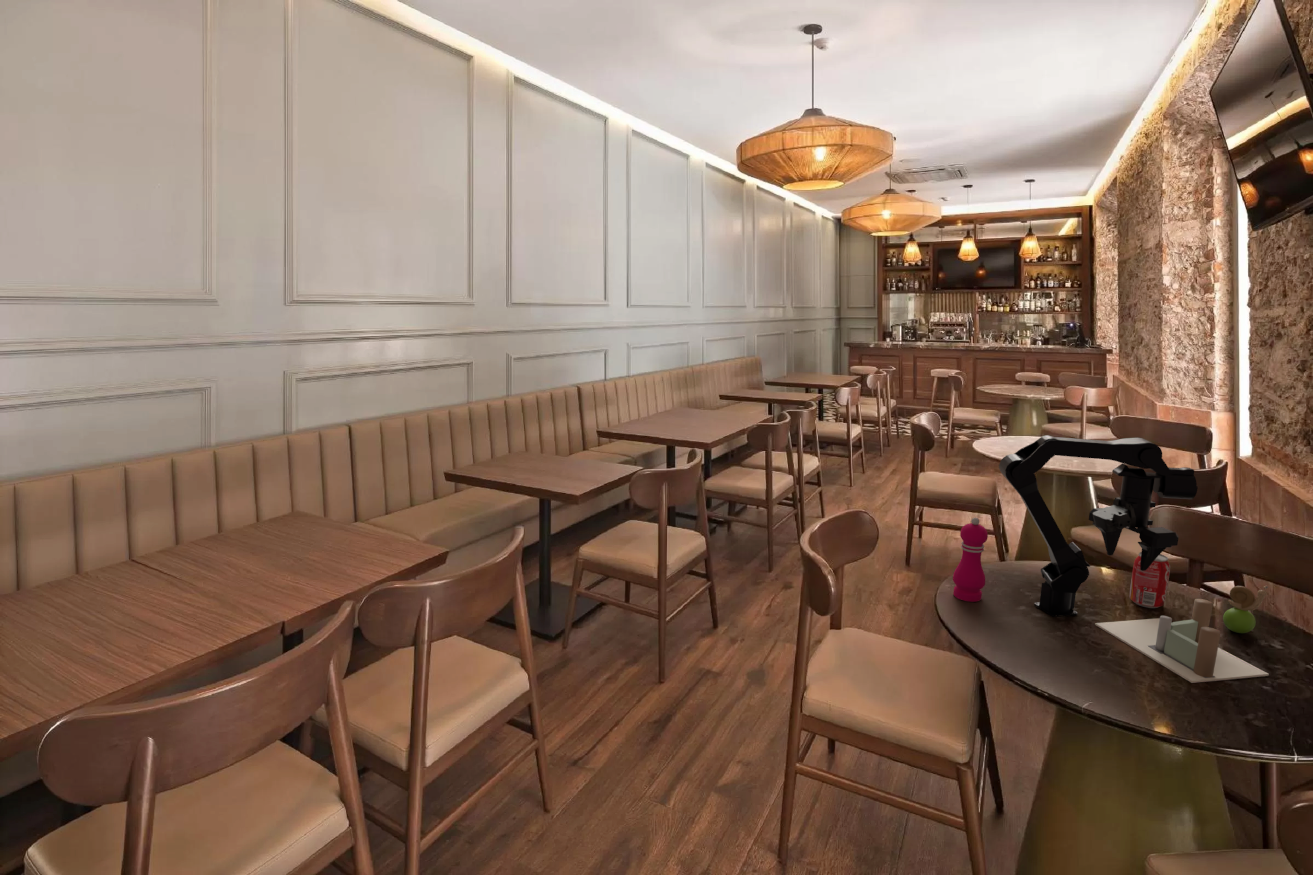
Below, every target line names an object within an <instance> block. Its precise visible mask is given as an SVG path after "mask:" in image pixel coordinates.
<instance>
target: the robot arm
mask: <svg viewBox="0 0 1313 875" xmlns="http://www.w3.org/2000/svg"><path fill="white" fill-rule="evenodd" d="M1055 456H1058V457H1059V456H1060V457H1071V458H1072V457H1073V458H1081V459H1082V458H1083V459H1085V458H1086V459H1096V460H1108V461H1114V462H1118V463H1121V464H1120V465H1119V466H1117V467H1115V468H1113V469H1112V473H1114V474H1115V475H1116V476H1118V477H1122V480H1121V481H1122V482H1121V486H1120V487H1121V488H1120V493H1119V494H1120V495H1119V496H1118V497H1115V498H1114V499H1113V502H1112V505H1110V506H1105V507H1097V508H1096V507H1094V508H1092V510H1090V511H1089V514H1088V521H1090V522H1092V525H1093V526H1095V527H1096V528H1097V529H1098V530H1099V531H1100V533H1101V536H1102V538H1103V542H1104V545H1105V549H1106V550H1105V551H1106V555H1107V556H1110V557H1111V556H1113V555H1114V553H1115V551H1116V550H1117V547H1118V543H1119V540H1120V537H1121V535H1122V531H1123V529H1127V530H1129V531H1132V532H1134V533H1136V534H1139V538H1138V539H1139V540H1140V541H1137V544H1138V545H1139V547H1140V548H1141V551H1140V552H1141V562H1140V570H1142V571H1146V570H1147V569H1148V567H1149V566H1150V565H1151V564H1152V563H1153V561H1154V560H1155V559H1156V558H1157V557H1158V556H1159V554H1162V553H1163V552H1164V551H1165V550H1166V549H1168V548H1171V547H1173V546H1174V547H1175V546H1178V544H1179V538H1180V536H1179V535H1178V533H1177V532H1175V531H1173V530H1171V529H1168V528H1166V527H1162V526H1161V527H1158V526H1157V527H1147V526H1153V523H1154V520H1153V519H1150V517H1149V516H1150V512H1151V508H1156V503H1157V502H1154V501H1152V497H1153V493H1156V494H1157V496H1158V497H1159V498H1161V499H1163V498H1165V499H1181V500H1193V499H1194V498H1195V497H1196V495H1197V493H1198V484H1197V479H1196V477H1195V470H1194V469H1193V468H1191V467H1186V466H1185V467H1170V466H1168V465H1167V463H1166V462H1165V461H1164V459H1163V452H1162V448H1161V447H1160V446H1159V445H1158V444H1156V443H1153V442H1152V441H1150V440H1148V439H1145V438H1143V437H1125V438H1120V439H1118V438H1117V439H1114V440H1099V439H1098V440H1097V439H1088V438H1086V439H1084V438H1073V437H1072V438H1071V437H1058V436H1052V435H1042V436H1041V437H1039V438H1038V439H1037V440H1035V441H1033V442H1031V443H1030V444H1028V445H1025V446H1024V447H1022V448H1020V449H1019V450H1017V451H1015V453H1010V454H1007V455H1005V456H1003V458H1001V460H1000V461H999V464H998V469H999V471H1000V473H1001V475H1003V477H1004V478H1005V479H1006V480H1007V482H1008V483H1009V484H1010V485H1011V487H1013V489H1014V490H1015V491H1016V492H1017V493H1018V495H1019V497H1020V498H1021V500H1022V502H1023V504H1024V505H1025V507H1026V509H1027V511H1028V512H1029V514H1030V516H1031V518H1032V520H1033V522H1034V523H1035V525H1036V526H1037V529H1038V530H1039V533H1040V534H1041V536H1042V538H1043V540H1044V542H1045V544H1046V545H1047V550H1048V555H1049V558H1050V562H1049V563H1047V564H1046V565H1044V566H1043V567H1042V568H1040V573H1041V577H1042V578H1043V579H1044V580H1045V581H1044V582H1041V586H1040V587H1041V588H1040V596H1039V602H1038V601H1037V602H1034V604H1033V605H1034V606H1035V607H1037V608H1038V609H1040V610H1042V611H1043V612H1045V613H1046V614H1048V615H1049V616H1051V617H1064V616H1067V617H1068V616H1076V615H1078V611H1076V610H1074V609H1075V603H1076V595H1077V592H1078V591H1079V590H1078V589H1079V588H1080V586H1081V585H1082V584H1084V582H1086V581H1087V579H1088V578H1089V576H1090V570H1089V567H1091V565H1090V564H1089V563H1088V562H1087V561H1086V558H1085V555H1084V553H1083V551H1082V550H1081V548H1080V547H1078V545H1076V543H1074V541H1072V542H1070V543H1068V542H1067V540H1066V539H1065V537H1064V535H1063V533H1062V531H1061V530H1060V528H1059V526H1058V524H1057V522H1056V520H1055V518H1054V516H1053V515H1052V513H1051V511H1050V510H1049V507H1048V506H1047V504H1046V503H1045V500H1044V498H1043V497H1042V495H1041V493H1040V491H1039V490H1040V489H1039V486H1038V479H1037V477H1036V474H1035V473H1037V472H1039V471H1040V470H1041V469H1042V468H1043V467H1044V466H1045V465H1046V464H1047V463H1048V462H1049V461H1050V460H1051V459H1052V458H1054V457H1055ZM1129 466H1130V467H1129ZM1131 466H1132V467H1131ZM1145 470H1151V471H1153V472H1147V471H1145Z"/></svg>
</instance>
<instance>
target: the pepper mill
mask: <svg viewBox="0 0 1313 875" xmlns="http://www.w3.org/2000/svg"><path fill="white" fill-rule="evenodd" d="M970 521H971V523H966V524H964V525H962V527H961V529H960V533H959V536H960V538H961V540H962V541H961V545H960V548H961V549H962V554H961V558H960V561H959V563H958V564H957V566H956V568H955V569H954V572H953V575H952V582H953V584H955V586H954V587H953V592H952V594H953V596H954V598H956V599H958V600H961V601H964V602H969V603H970V602H971V603H973V602H974V603H976V602H979V601H981V599H982V596H983V595H982V594H983V591H982V589H983V588H984V587H985V585H986V575H985V571H984V569H983V565H982V561H981V560H982V553H983V552H984V551H985V543H986V542H987V540H988V538H989V536H988V534H989V533H988V531H987V529H986V527H985V526H983V525H981V524H980V519H979V518H978V517H973V518H972V519H971V520H970Z"/></svg>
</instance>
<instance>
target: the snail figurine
mask: <svg viewBox="0 0 1313 875" xmlns="http://www.w3.org/2000/svg"><path fill="white" fill-rule="evenodd" d="M1262 588H1263V589H1259V590H1258V591H1257V596H1256V597H1255V594H1254V592H1253V591H1252V590H1251V589H1250V588H1248V587H1247V586H1243V585H1236V586H1233V587H1232V588H1231V589H1230V591H1229V597H1230V599H1228V600H1227V601H1228V603H1229V604H1230V606H1232V607H1231V608H1229V609H1227V610H1226V611H1225V612H1224V614H1223V616H1222V620H1223V621H1222V622H1223V623H1224V626H1225V627H1226V628H1227V629H1228V630H1230V631H1232V632H1233V633H1237V634H1246V633H1250V632H1251V631H1253V629H1254V628H1255V627H1256V617H1255V616H1254V615H1253V613H1252V612H1251V611H1255V610H1257V609H1258V608H1259V607H1260V606H1261V604H1262V602H1263V601H1264V598H1265V597H1266V596H1267V589H1268V588H1269V586H1268V585H1265V586H1263V587H1262Z"/></svg>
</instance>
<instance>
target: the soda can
mask: <svg viewBox="0 0 1313 875" xmlns="http://www.w3.org/2000/svg"><path fill="white" fill-rule="evenodd" d="M1141 552H1142V551H1140V552H1138V555H1137V557H1135V559H1134V560H1133V561H1134V562H1133V565H1132V566H1133V567H1132V573H1131V580H1130V586H1129V587H1130V588H1129V599H1130V600H1131V601H1132V602H1133V603H1134V604H1136V605H1137V606H1140V607H1144V608H1148V609H1157V608H1160V607H1163V606H1164V605H1165V601H1166V598H1167V593H1168V585H1169V580H1170V579H1169V578H1170V573H1171V565H1170V563H1169V557H1168V556H1166V555H1164V554H1162V553H1160V554H1159V556H1158V557H1157V558H1156V559H1155V560H1154V561H1153V563H1152V564H1151V565H1150V566H1149V567H1148V569H1147V570H1146V571H1142V570H1140V562H1141Z"/></svg>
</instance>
